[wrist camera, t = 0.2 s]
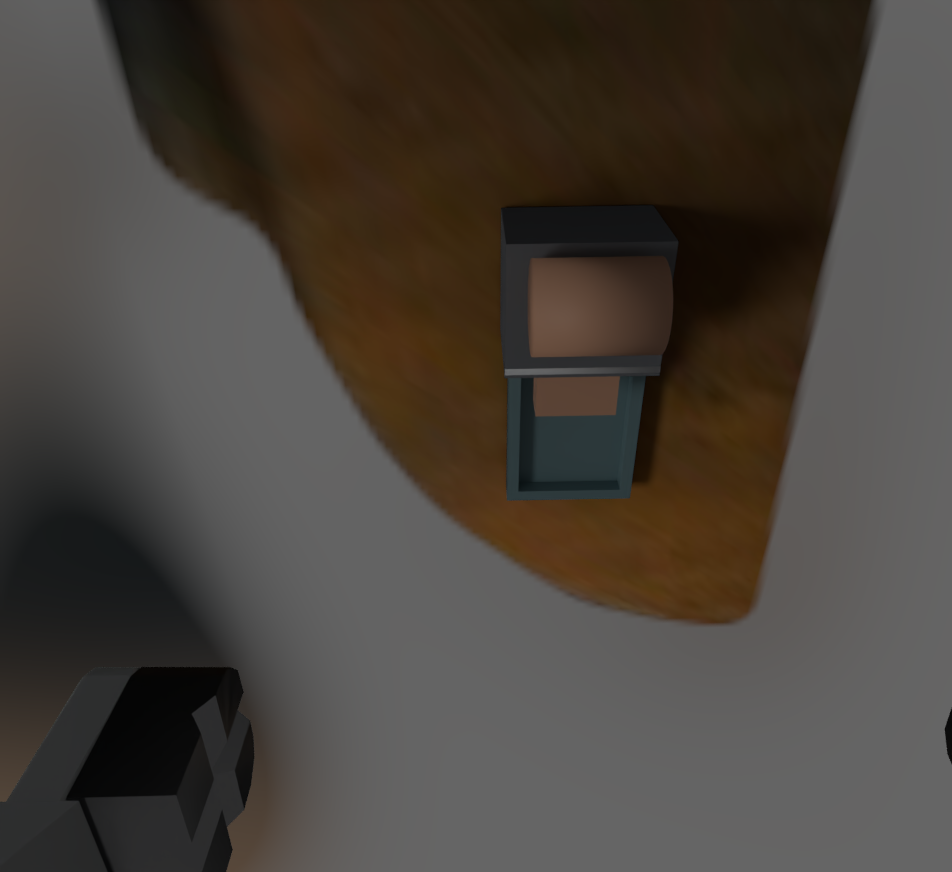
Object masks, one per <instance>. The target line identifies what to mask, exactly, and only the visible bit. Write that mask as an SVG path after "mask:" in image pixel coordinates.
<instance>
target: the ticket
mask: <svg viewBox="0 0 952 872" xmlns="http://www.w3.org/2000/svg"><path fill="white" fill-rule="evenodd" d="M619 380H620V376H608V377H552V378H534V387H533V403H534V410H535V416H590V415H616V408H617V399H618V389H619Z"/></svg>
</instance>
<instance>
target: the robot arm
mask: <svg viewBox="0 0 952 872" xmlns="http://www.w3.org/2000/svg"><path fill="white" fill-rule="evenodd" d="M242 695H243V688H242V684H241V680H240V676H239V673H238V670H236V669H234V668H231V667H141V668H114V667H112V668H111V667H110V668H109V667H105V668H104V667H103V668H102V667H96V668H94V669H93V670H92V671H90V672H89V673H88V674H86V675H85V676H84V677H83V678H82V679H81V681H80V682H79V684H78V685H77V687H76V688H75V690H74V692H73V693H72V695H71V697H70V698H69V700H68V702H67V703H66V705H65V706H64V708H63V710H62V711H61V713H60V715H59V716H58V718H57V720H56V721H55V723H54V724H53V726H52V728H51V729H50V731H49V733H48V734H47V736H46V737H45V739H44V741H43V742H42V744H41V746H40V747H39V749H38V750H37V752H36V754H35V756H34V757H33V759H32V760H31V762H30V764H29V765H28V767H27V769H26V770H25V772H24V773H23V775H22V777H21V778H20V780H19V782H18V783H17V785H16V786H15V788H14V790H13V791H12V793H11V795H10V796H9V798H8V800H7V801H6V802H0V872H226V870H227V867H228V863H229V860H230V857H231V853H232V850H233V849H232V846H231V842H230V838H229V834H228V830H227V826H228V825H229V824H230V823H231V822H232V821H233V820H234V819H235V818H236V817H237V816H238V815H239V814H240V813H241V812H242V811H243V810H244V808H245V805H246V801H247V797H248V794H249V790H250V786H251V780H252V772H253V764H254V740H253V732H252V727H251V723H250V720H249V719H247V718H246V717H245V716H244V715H243V714H241V713H240V712H239V711H238V707H239V704H240V701H241V698H242ZM945 736H946V745H947V754H948V756H949V759H950V761H951V763H952V709H951V712H950V715H949V717H948V721H947V724H946V727H945Z"/></svg>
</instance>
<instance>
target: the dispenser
mask: <svg viewBox="0 0 952 872" xmlns="http://www.w3.org/2000/svg"><path fill="white" fill-rule="evenodd" d="M678 242H679V241H678V240H677V238H676V237H675V236H674V234H673V233H672V231H671V230H670V229H669V227H668V226H667V224H666V223H665V221H664V220H663V219H662V217H661V216H660V214H659V213H658V211H657V210H656V209H655V207H654V206H653V205H638V206H580V207H522V208H501V341H502V353H503V364H504V376H505V378H552V377H608V376H659V375H660V369H661V361H662V354H663V353H664V351H665V349H666V347H667V344H668V341H669V337H670V332H671V326H672V317H673V277H674V270H675V263H676V256H677V249H678Z"/></svg>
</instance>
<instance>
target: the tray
mask: <svg viewBox="0 0 952 872" xmlns="http://www.w3.org/2000/svg"><path fill="white" fill-rule="evenodd" d="M645 378H646V376H620V380H619V389H618V399H617V408H616V415H590V416H535V410H534V403H533V387H534V378H508V389H507V473H506V490H507V500H556V499H612V498H630V492H631V485H632V477H633V469H634V462H635V454H636V447H637V439H638V431H639V424H640V416H641V409H642V401H643V393H644V386H645Z"/></svg>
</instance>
